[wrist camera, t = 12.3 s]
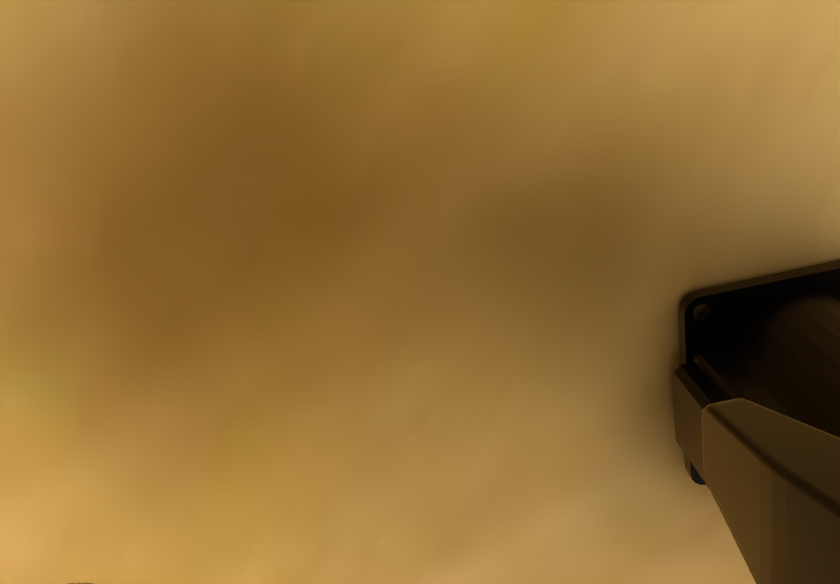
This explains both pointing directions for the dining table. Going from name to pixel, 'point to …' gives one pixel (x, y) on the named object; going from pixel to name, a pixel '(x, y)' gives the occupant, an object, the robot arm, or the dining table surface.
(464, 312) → the dining table surface
